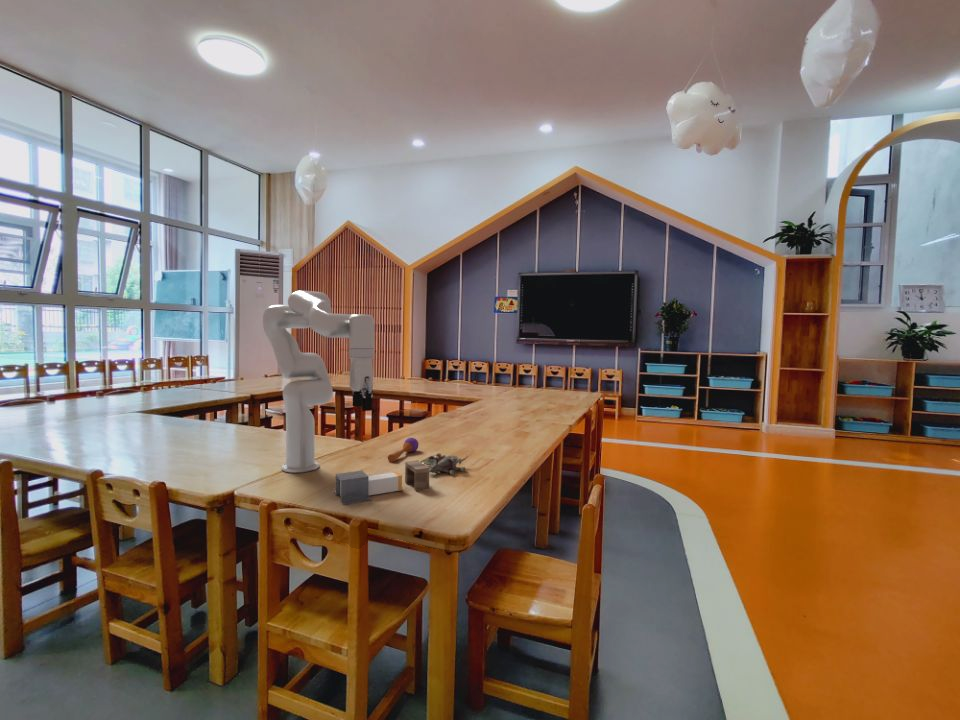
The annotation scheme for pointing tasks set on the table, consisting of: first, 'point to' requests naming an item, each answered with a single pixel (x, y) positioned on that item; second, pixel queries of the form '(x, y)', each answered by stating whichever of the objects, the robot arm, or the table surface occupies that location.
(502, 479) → the table surface
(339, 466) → the table surface
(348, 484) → the sleeve
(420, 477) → the socket block
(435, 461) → the figurine
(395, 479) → the white block
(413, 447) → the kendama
